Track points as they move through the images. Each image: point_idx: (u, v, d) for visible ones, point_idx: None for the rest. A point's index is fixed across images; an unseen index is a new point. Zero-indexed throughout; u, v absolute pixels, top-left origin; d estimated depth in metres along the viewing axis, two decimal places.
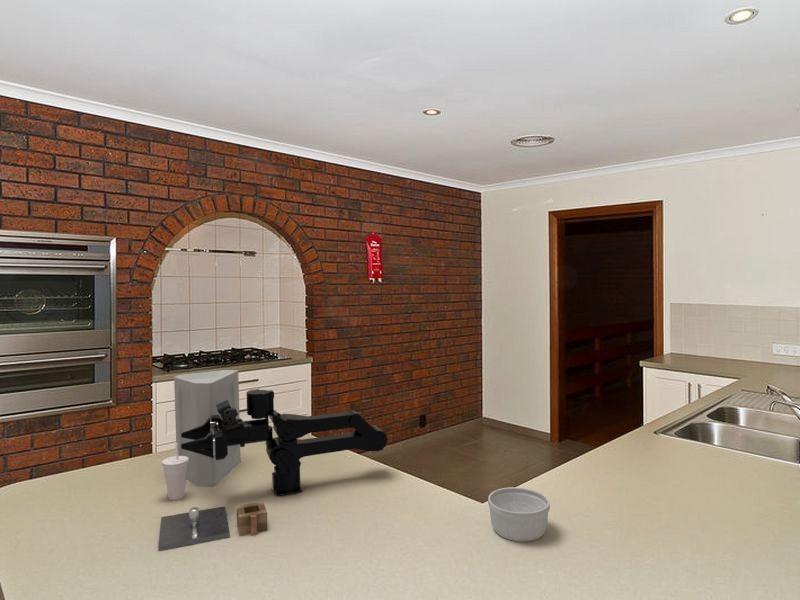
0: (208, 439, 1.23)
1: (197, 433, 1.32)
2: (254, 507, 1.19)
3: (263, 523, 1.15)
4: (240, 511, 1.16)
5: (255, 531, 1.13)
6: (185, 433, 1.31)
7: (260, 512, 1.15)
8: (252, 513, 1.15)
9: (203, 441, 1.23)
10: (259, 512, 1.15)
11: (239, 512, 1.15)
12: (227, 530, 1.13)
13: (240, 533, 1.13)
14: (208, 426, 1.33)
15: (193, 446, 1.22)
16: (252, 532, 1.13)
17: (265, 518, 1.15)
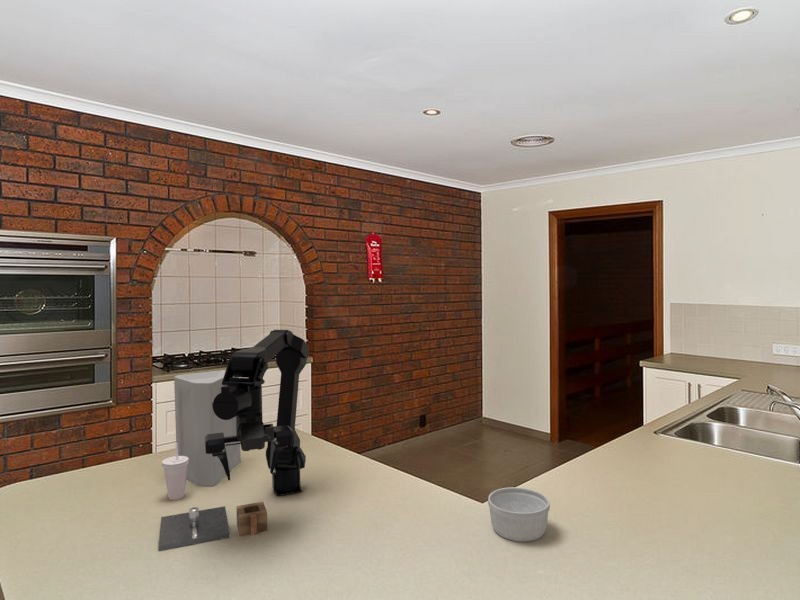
0: None
1: None
2: (254, 507, 1.19)
3: (263, 523, 1.15)
4: (240, 511, 1.16)
5: (255, 531, 1.13)
6: (229, 475, 1.15)
7: (260, 512, 1.15)
8: (252, 513, 1.15)
9: None
10: (259, 512, 1.15)
11: (239, 512, 1.15)
12: (227, 530, 1.13)
13: (240, 533, 1.13)
14: None
15: None
16: (252, 532, 1.13)
17: (265, 518, 1.15)
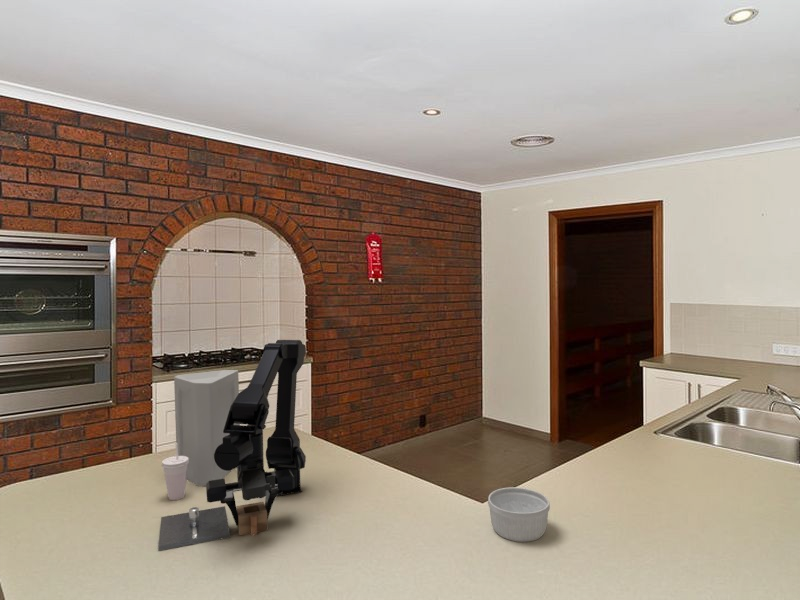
0: None
1: None
2: (254, 507, 1.19)
3: (263, 523, 1.15)
4: (240, 511, 1.16)
5: (255, 531, 1.13)
6: None
7: (260, 512, 1.15)
8: (252, 513, 1.15)
9: None
10: (259, 512, 1.15)
11: (239, 512, 1.15)
12: (227, 530, 1.13)
13: (240, 533, 1.13)
14: (234, 498, 1.14)
15: None
16: (252, 532, 1.13)
17: (265, 518, 1.15)
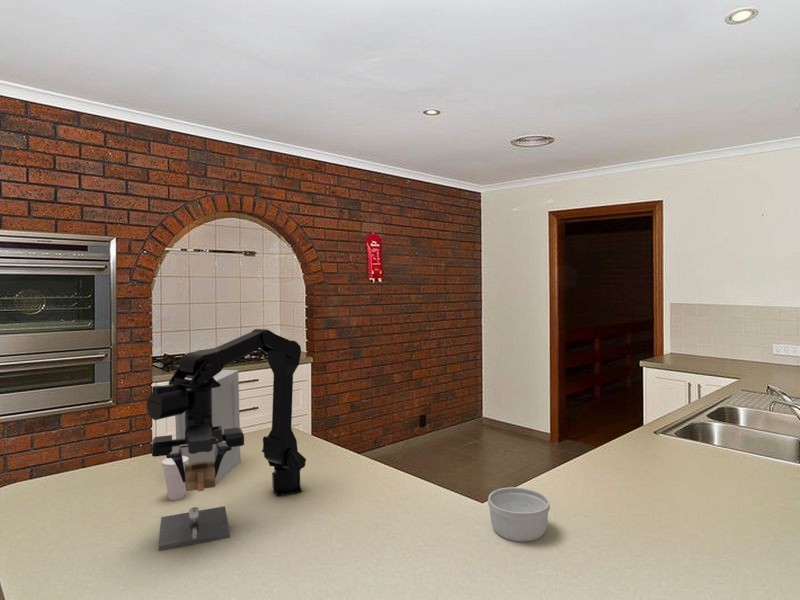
0: None
1: None
2: (203, 465, 1.17)
3: (211, 480, 1.13)
4: (187, 468, 1.14)
5: (202, 487, 1.12)
6: None
7: (208, 469, 1.14)
8: (199, 469, 1.13)
9: None
10: (207, 468, 1.14)
11: (186, 469, 1.14)
12: (227, 530, 1.13)
13: (186, 489, 1.11)
14: (181, 454, 1.12)
15: None
16: (199, 488, 1.11)
17: (213, 475, 1.14)
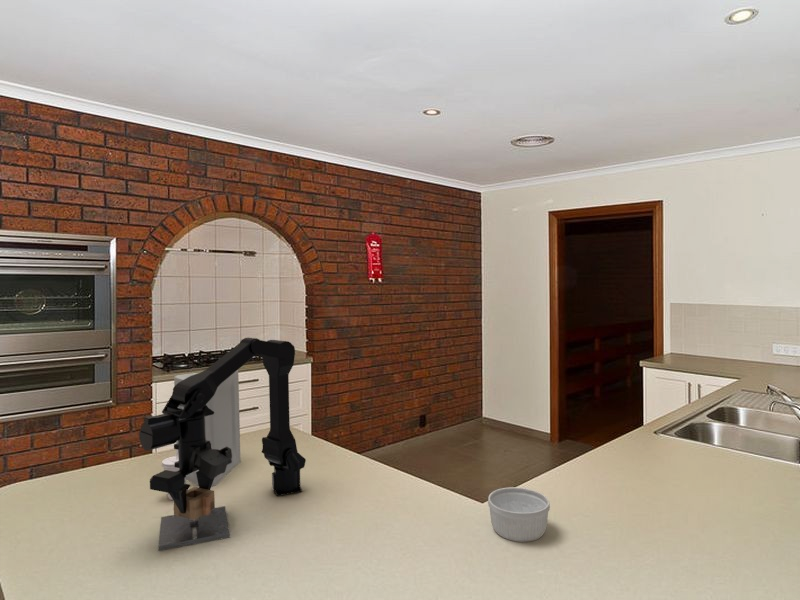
0: None
1: None
2: (191, 492, 1.17)
3: (211, 502, 1.17)
4: (186, 498, 1.14)
5: (209, 510, 1.15)
6: None
7: (208, 492, 1.16)
8: (201, 495, 1.15)
9: None
10: (207, 492, 1.16)
11: (187, 499, 1.13)
12: (227, 530, 1.13)
13: (195, 517, 1.12)
14: None
15: None
16: (207, 512, 1.14)
17: (213, 497, 1.17)
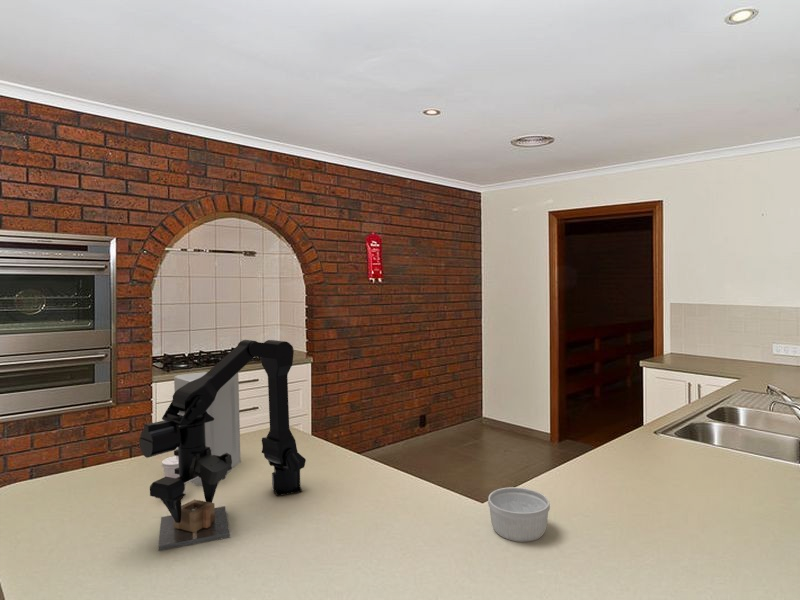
0: None
1: None
2: (191, 505, 1.17)
3: (212, 515, 1.17)
4: (186, 511, 1.14)
5: (209, 523, 1.15)
6: None
7: (208, 505, 1.17)
8: (201, 508, 1.15)
9: None
10: (207, 505, 1.17)
11: (187, 511, 1.13)
12: (227, 530, 1.13)
13: (195, 530, 1.12)
14: None
15: None
16: (207, 525, 1.14)
17: (213, 509, 1.17)
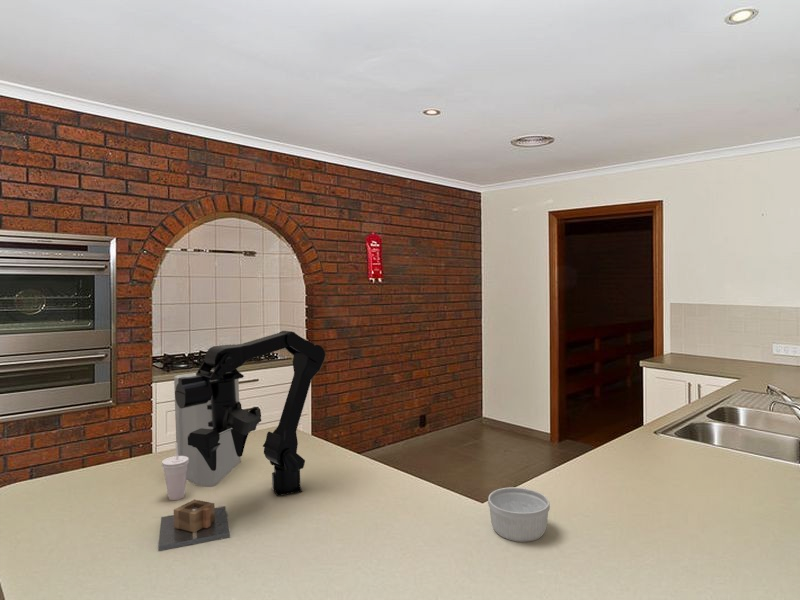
0: None
1: None
2: (191, 505, 1.17)
3: (212, 515, 1.17)
4: (186, 511, 1.14)
5: (209, 523, 1.15)
6: None
7: (208, 505, 1.17)
8: (201, 508, 1.15)
9: None
10: (207, 505, 1.17)
11: (187, 511, 1.13)
12: (227, 530, 1.13)
13: (195, 530, 1.12)
14: None
15: None
16: (207, 525, 1.14)
17: (213, 509, 1.17)
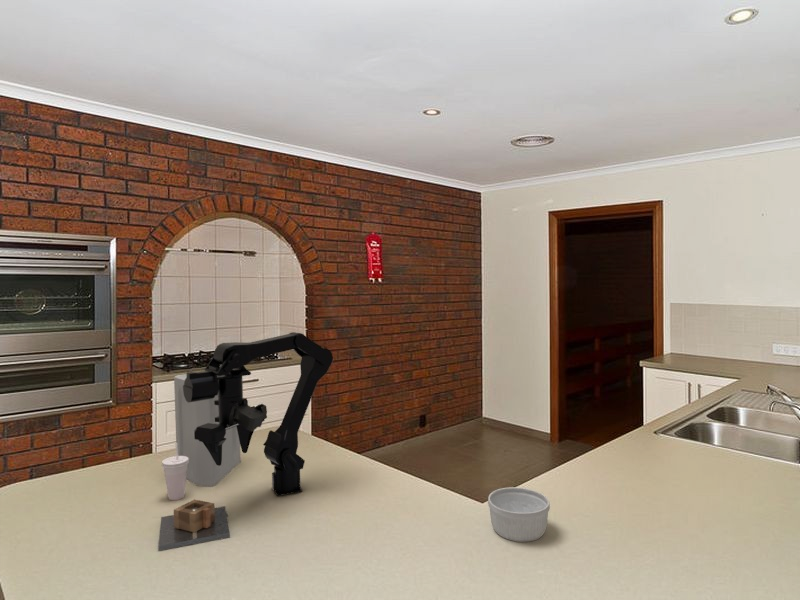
0: None
1: None
2: (191, 505, 1.17)
3: (212, 515, 1.17)
4: (186, 511, 1.14)
5: (209, 523, 1.15)
6: None
7: (208, 505, 1.17)
8: (201, 508, 1.15)
9: None
10: (207, 505, 1.17)
11: (187, 511, 1.13)
12: (227, 530, 1.13)
13: (195, 530, 1.12)
14: None
15: None
16: (207, 525, 1.14)
17: (213, 509, 1.17)
